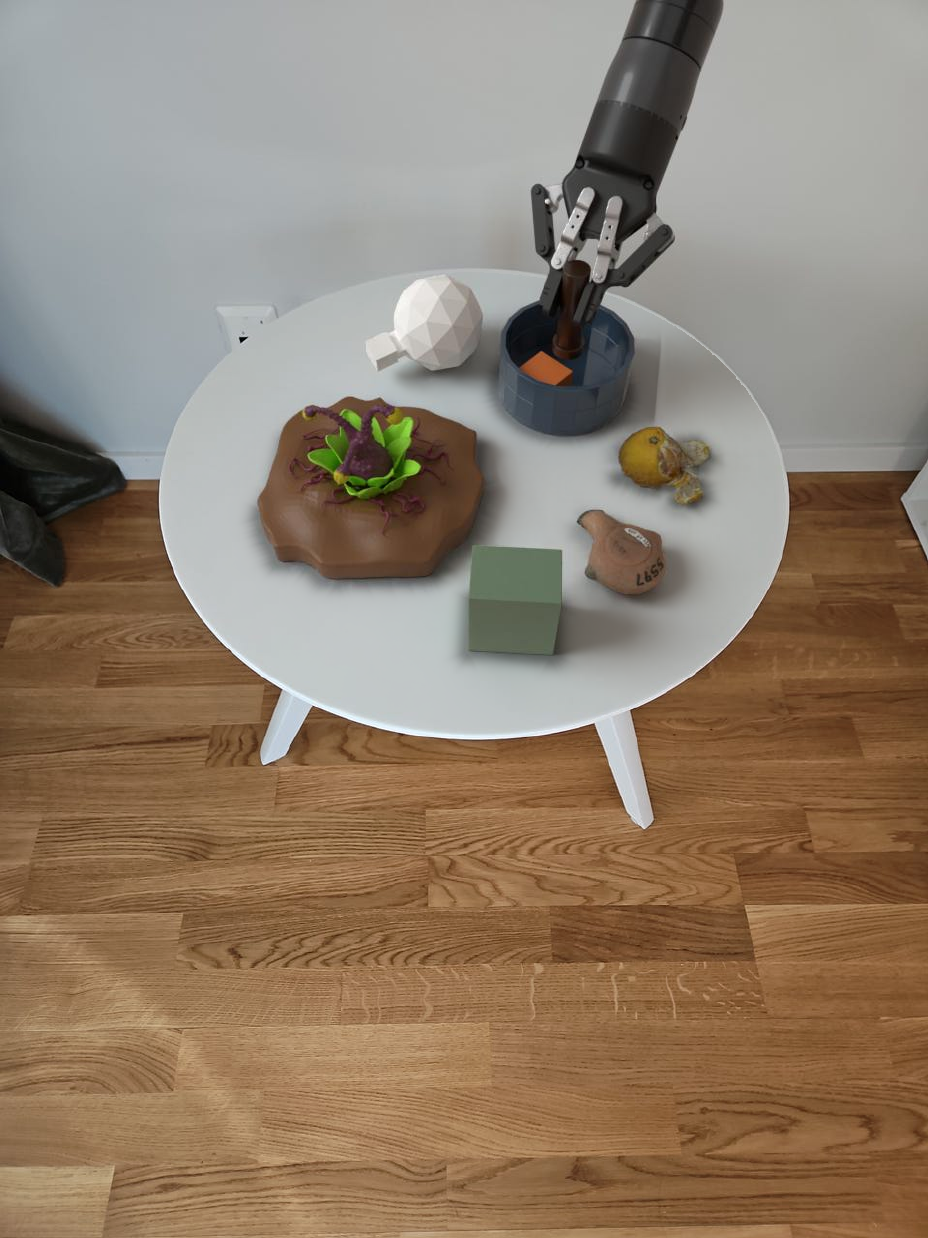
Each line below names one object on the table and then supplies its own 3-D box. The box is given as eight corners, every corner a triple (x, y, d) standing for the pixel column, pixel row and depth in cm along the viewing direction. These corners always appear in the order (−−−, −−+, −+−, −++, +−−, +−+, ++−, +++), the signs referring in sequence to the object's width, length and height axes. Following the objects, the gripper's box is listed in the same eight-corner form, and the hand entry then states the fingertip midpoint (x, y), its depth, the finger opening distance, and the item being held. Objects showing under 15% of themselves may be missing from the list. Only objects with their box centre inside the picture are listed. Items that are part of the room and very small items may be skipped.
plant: (461, 599, 77) (461, 518, 67) (241, 567, 79) (210, 483, 69) (497, 427, 87) (501, 336, 78) (301, 402, 89) (281, 310, 79)
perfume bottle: (456, 294, 94) (354, 342, 93) (459, 240, 85) (346, 293, 84) (496, 361, 93) (394, 412, 91) (504, 313, 84) (390, 369, 82)
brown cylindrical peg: (583, 338, 86) (594, 257, 78) (583, 360, 85) (594, 280, 77) (552, 337, 86) (560, 256, 79) (551, 359, 85) (559, 278, 77)
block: (538, 381, 90) (541, 350, 86) (569, 401, 88) (573, 371, 85) (511, 402, 88) (513, 371, 85) (542, 423, 87) (545, 393, 83)
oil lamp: (664, 533, 82) (576, 521, 82) (672, 501, 78) (581, 489, 79) (660, 608, 76) (565, 594, 77) (669, 576, 73) (570, 563, 74)
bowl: (623, 347, 93) (632, 299, 88) (626, 439, 86) (637, 393, 81) (501, 342, 93) (503, 294, 88) (495, 432, 87) (497, 386, 82)
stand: (553, 604, 77) (562, 549, 70) (552, 655, 74) (562, 603, 67) (471, 599, 77) (472, 544, 70) (468, 650, 74) (468, 598, 67)
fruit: (700, 511, 82) (710, 485, 79) (610, 494, 83) (616, 468, 80) (709, 444, 86) (718, 417, 83) (622, 429, 87) (629, 402, 84)
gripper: (552, 77, 74) (480, 289, 79) (713, 122, 70) (627, 341, 75) (573, 110, 81) (506, 303, 86) (721, 153, 77) (641, 351, 82)
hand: (563, 320), depth 80 cm, fingers closed on brown cylindrical peg, 2 cm apart
